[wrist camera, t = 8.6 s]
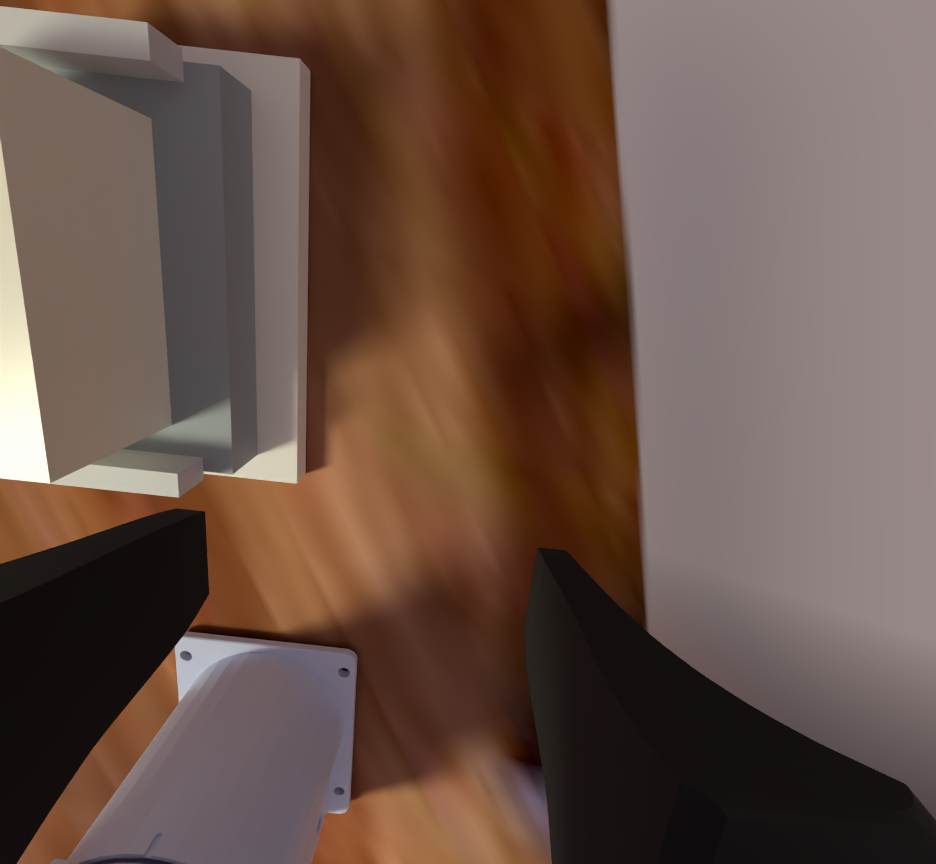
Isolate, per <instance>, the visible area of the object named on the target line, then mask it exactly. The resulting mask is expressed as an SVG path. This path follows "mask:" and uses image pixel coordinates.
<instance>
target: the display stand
mask: <svg viewBox="0 0 936 864" xmlns="http://www.w3.org/2000/svg"><path fill="white" fill-rule="evenodd" d="M0 47H1V48H3V49H6V50H8V51H10V52H12V53H14V54H16V55H18V56H20V57H22V58H25V59H27V60H29V61H31V62H33V63H35V64H37V65H39V66H41V67H44V68H46V69H48V70H50V71H52V72H54V73H56V74H58V75H60V76H63V77H65V78H67V79H69V80H71V81H73V82H75V83H77V84H79V85H82V86H84V87H86V88H88V89H90V90H92V91H94V92H96V93H98V94H101V95H103V96H105V97H107V98H109V99H111V100H113V101H115V102H117V103H120V104H122V105H124V106H126V107H128V108H130V109H132V110H134V111H136V112H139V113H141V114H143V115H145V116H147V117H149V118H151V120H152V135H153V150H154V165H155V180H156V195H157V210H158V224H159V239H160V254H161V269H162V284H163V299H164V314H165V329H166V344H167V359H168V374H169V388H170V403H171V418H172V425H171V426H169V427H167V428H165V429H163V430H161V431H159V432H157V433H155V434H152V435H150V436H148V437H146V438H144V439H142V440H140V441H138V442H136V443H134V444H131V445H129V446H127V447H125V448H123V449H121V450H119V451H117V452H115V453H113V454H111V455H108V456H106V457H104V458H102V459H100V460H98V461H96V462H94V463H92V464H90V465H88V466H85V467H83V468H81V469H79V470H77V471H75V472H73V473H71V474H69V475H67V476H64V477H62V478H60V479H58V480H56V481H54V482H52V483H49V484H59V485H68V486H77V487H86V488H96V489H105V490H114V491H123V492H133V493H142V494H151V495H161V496H170V497H180V496H182V495H183V494H184V493H186V492H187V491H189V490H190V489H191V488H193V487H194V486H195V485H197V484H198V483H200V482H201V481H202V480H204V474H213V475H222V476H231V477H241V478H250V479H259V480H268V481H278V482H287V483H296V484H297V483H298V482H299V481H300V480H301V478H302V477H303V476H304V475H305V474H306V398H307V316H308V233H309V151H310V70H309V69H308V68H307V66H306V65H305V64H304V63H303V62H302V60H301V59H300V58H291V57H282V56H273V55H263V54H254V53H245V52H236V51H227V50H218V49H208V48H199V47H190V46H181V45H177V44H176V43H174V42H173V41H172V40H170V39H169V38H168V37H166V36H165V35H164V34H162V33H161V32H160V31H158V30H157V29H156V28H154V27H153V26H152V25H150V24H149V23H148V22H139V21H130V20H121V19H112V18H103V17H94V16H84V15H75V14H66V13H57V12H48V11H39V10H29V9H20V8H11V7H2V6H0ZM3 479H5V478H3ZM12 480H15V479H12ZM21 481H24V480H21ZM31 482H33V481H31ZM40 483H42V482H40Z"/></svg>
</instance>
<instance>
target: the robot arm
mask: <svg viewBox="0 0 936 864" xmlns="http://www.w3.org/2000/svg"><path fill="white" fill-rule="evenodd" d="M208 595H209V582H208V562H207V543H206V523H205V512H204V511H195V510H186V509H173V510H168V511H164V512H160V513H157V514H153V515H150V516H147V517H143V518H140V519H137V520H134V521H131V522H128V523H125V524H122V525H119V526H117V527H114V528H111V529H108V530H105V531H102V532H99V533H96V534H93V535H90V536H87V537H84V538H81V539H78V540H76V541H73V542H70V543H66V544H63V545H60V546H57V547H54V548H50V549H47V550H44V551H41V552H38V553H35V554H31V555H28V556H25V557H22V558H19V559H15V560H12V561H9V562H5V563H2V564H0V864H17V862H18V860H19V859H20V857H21V856H22V854H23V853H24V851H25V849H26V848H27V846H28V845H29V843H30V842H31V840H32V839H33V837H34V835H35V834H36V832H37V831H38V829H39V828H40V826H41V824H42V823H43V821H44V820H45V818H46V817H47V815H48V814H49V812H50V810H51V809H52V807H53V806H54V804H55V803H56V801H57V800H58V798H59V797H60V795H61V794H62V793H63V791H64V790H65V788H66V787H67V785H68V784H69V782H70V781H71V779H72V778H73V776H74V775H75V773H76V772H77V770H78V769H79V767H80V766H81V764H82V763H83V761H84V760H85V759H86V757H87V756H88V754H89V753H90V751H91V750H92V749H93V747H94V746H95V745H96V744H97V742H98V741H99V740H100V738H101V737H102V736H103V734H104V733H105V732H106V730H107V729H108V728H109V727H110V725H111V724H112V723H113V722H114V721H115V719H116V718H117V717H118V716H119V714H120V713H121V712H122V711H123V710H124V708H125V707H126V706H127V705H128V703H129V702H130V701H131V700H132V699H133V697H134V696H135V695H136V694H137V692H138V691H139V690H140V689H141V688H142V686H143V685H144V684H145V683H146V682H147V680H148V679H149V678H150V677H151V675H152V674H153V673H154V672H155V671H156V669H157V668H158V667H159V666H160V664H161V663H162V662H163V661H164V659H165V658H166V657H167V656H168V654H169V653H170V652H171V651H172V649H173V648H174V647H175V655H176V668H177V682H178V695H179V704H178V705H177V707H176V708H175V709H174V711H173V712H172V714H171V715H170V716H169V718H168V719H167V721H166V722H165V723H164V725H163V726H162V728H161V729H160V730H159V732H158V733H157V735H156V736H155V737H154V739H153V740H152V742H151V743H150V744H149V746H148V747H147V749H146V750H145V751H144V753H143V754H142V756H141V757H140V758H139V760H138V761H137V763H136V764H135V765H134V767H133V768H132V770H131V771H130V772H129V774H128V775H127V777H126V778H125V779H124V781H123V782H122V784H121V785H120V786H119V788H118V789H117V791H116V792H115V793H114V795H113V796H112V798H111V799H110V800H109V802H108V803H107V805H106V806H105V807H104V809H103V810H102V812H101V813H100V814H99V816H98V817H97V819H96V820H95V821H94V823H93V824H92V826H91V827H90V828H89V830H88V831H87V833H86V834H85V835H84V837H83V838H82V840H81V841H80V842H79V844H78V845H77V847H76V848H75V849H74V851H73V852H72V854H71V855H70V856H69V858H68V859H67V861H65V860H62V859H59V858H57V859H54V860H53V861H52V862H51V863H50V864H312V860H313V857H314V854H315V850H316V847H317V843H318V840H319V837H320V833H321V830H322V826H323V823H324V820H325V816H326V813H327V812H328V813H337V814H340V813H344V812H346V811H347V810H348V808H349V805H350V799H351V779H352V759H353V739H354V718H355V698H356V678H357V655H356V654H355V652H353V651H352V650H350V649H345V648H336V647H327V646H317V645H308V644H299V643H289V642H280V641H271V640H262V639H252V638H243V637H234V636H224V635H215V634H206V633H196V632H186V631H187V629H188V628H189V626H190V625H191V623H192V622H193V620H194V618H195V617H196V615H197V614H198V612H199V610H200V608H201V607H202V605H203V603H204V602H205V600H206V598H207V596H208ZM524 629H525V655H526V672H527V678H528V685H529V691H530V697H531V703H532V709H533V715H534V721H535V726H536V732H537V738H538V744H539V750H540V756H541V762H542V767H543V773H544V780H545V788H546V796H547V804H548V817H549V830H550V844H551V857H552V864H936V820H935V819H934V818H933V816H932V815H931V814H930V813H929V812H928V810H927V809H926V808H925V807H924V806H923V805H922V803H921V802H920V801H919V800H918V798H917V797H916V796H915V795H914V794H913V793H912V791H911V790H910V789H909V788H908V786H906V784H904V783H902V782H900V781H898V780H895V779H893V778H891V777H889V776H887V775H885V774H883V773H881V772H879V771H876V770H874V769H872V768H870V767H868V766H866V765H864V764H861V763H859V762H857V761H855V760H853V759H851V758H849V757H847V756H844V755H842V754H840V753H838V752H836V751H834V750H832V749H830V748H827V747H825V746H823V745H821V744H819V743H817V742H815V741H814V740H812V739H810V738H808V737H806V736H804V735H802V734H801V733H799V732H797V731H795V730H793V729H791V728H789V727H788V726H786V725H784V724H782V723H780V722H778V721H777V720H775V719H773V718H771V717H769V716H768V715H766V714H764V713H762V712H761V711H759V710H757V709H756V708H754V707H752V706H751V705H749V704H747V703H746V702H744V701H742V700H741V699H739V698H738V697H736V696H734V695H733V694H731V693H730V692H728V691H727V690H725V689H724V688H722V687H721V686H719V685H717V684H716V683H714V682H713V681H711V680H710V679H708V678H706V677H705V676H704V675H702V674H701V673H700V672H698V671H697V670H695V669H694V668H692V667H691V666H690V665H688V664H687V663H686V662H684V661H683V660H682V659H680V658H679V657H678V656H676V655H675V654H674V653H673V652H671V651H670V650H669V649H667V648H666V647H665V646H663V645H662V644H661V643H660V642H659V641H657V640H656V639H655V638H654V637H652V636H651V635H650V634H649V633H648V632H647V631H646V630H645V629H643V628H642V627H641V626H640V625H639V624H638V623H637V622H636V621H634V620H633V619H632V618H631V617H630V616H629V615H628V614H627V613H626V612H625V611H624V610H623V609H622V608H620V607H619V606H618V605H617V604H616V603H615V602H614V601H613V600H612V599H611V598H610V597H609V596H608V595H607V594H606V593H605V592H604V591H603V590H602V588H601V587H600V586H599V585H598V584H597V583H596V582H595V581H594V580H593V579H592V578H591V577H590V576H589V575H588V574H587V573H586V571H585V570H584V569H583V568H582V567H581V566H580V565H579V564H578V563H577V562H576V561H575V560H574V558H573V557H572V556H571V555H570V554H569V553H568V552H567V551H565V550H556V549H547V548H538V547H537V553H536V559H535V565H534V571H533V578H532V584H531V590H530V596H529V603H528V609H527V615H526V621H525V627H524ZM186 651H188V652H189V653H191V654H188V653H187V652H186ZM341 668H346V669H348V670H349V671H344V670H342V669H341Z"/></svg>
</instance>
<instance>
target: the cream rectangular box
mask: <svg viewBox="0 0 936 864" xmlns="http://www.w3.org/2000/svg"><path fill="white" fill-rule="evenodd" d="M171 425H172V418H171V403H170V388H169V374H168V359H167V344H166V329H165V314H164V299H163V284H162V269H161V254H160V239H159V224H158V210H157V195H156V180H155V165H154V150H153V135H152V120H151V118H149V117H147V116H145V115H143V114H141V113H139V112H136V111H134V110H132V109H130V108H128V107H126V106H124V105H122V104H120V103H117V102H115V101H113V100H111V99H109V98H107V97H105V96H103V95H101V94H98V93H96V92H94V91H92V90H90V89H88V88H86V87H84V86H82V85H79V84H77V83H75V82H73V81H71V80H69V79H67V78H65V77H63V76H60V75H58V74H56V73H54V72H52V71H50V70H48V69H46V68H44V67H41V66H39V65H37V64H35V63H33V62H31V61H29V60H27V59H25V58H22V57H20V56H18V55H16V54H14V53H12V52H10V51H8V50H6V49H3V48H1V47H0V478H5V479H15V480H24V481H33V482H42V483H52V482H54V481H56V480H58V479H60V478H62V477H64V476H67V475H69V474H71V473H73V472H75V471H77V470H79V469H81V468H83V467H85V466H88V465H90V464H92V463H94V462H96V461H98V460H100V459H102V458H104V457H106V456H108V455H111V454H113V453H115V452H117V451H119V450H121V449H123V448H125V447H127V446H129V445H131V444H134V443H136V442H138V441H140V440H142V439H144V438H146V437H148V436H150V435H152V434H155V433H157V432H159V431H161V430H163V429H165V428H167V427H169V426H171Z"/></svg>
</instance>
